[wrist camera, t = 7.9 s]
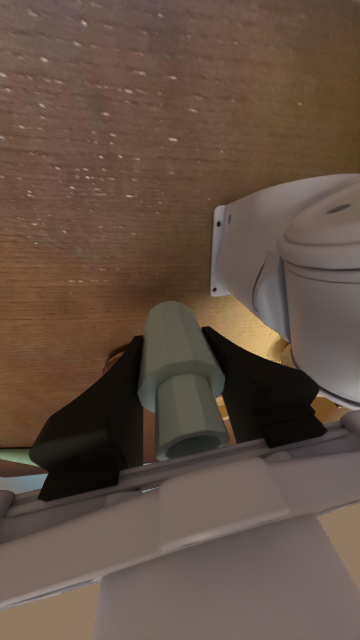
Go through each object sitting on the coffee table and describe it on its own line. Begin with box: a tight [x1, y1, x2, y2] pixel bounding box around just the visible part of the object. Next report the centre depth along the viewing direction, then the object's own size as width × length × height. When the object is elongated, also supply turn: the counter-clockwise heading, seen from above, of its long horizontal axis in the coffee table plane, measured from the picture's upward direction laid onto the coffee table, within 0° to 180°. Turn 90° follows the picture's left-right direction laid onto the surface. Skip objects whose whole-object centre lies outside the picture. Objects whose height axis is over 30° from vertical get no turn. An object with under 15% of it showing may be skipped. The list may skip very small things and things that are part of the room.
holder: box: [216, 394, 229, 420], centre depth 31 cm, size 10×10×3 cm
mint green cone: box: [0, 449, 38, 466], centre depth 36 cm, size 5×6×27 cm
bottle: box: [137, 301, 230, 461], centre depth 10 cm, size 5×5×10 cm
